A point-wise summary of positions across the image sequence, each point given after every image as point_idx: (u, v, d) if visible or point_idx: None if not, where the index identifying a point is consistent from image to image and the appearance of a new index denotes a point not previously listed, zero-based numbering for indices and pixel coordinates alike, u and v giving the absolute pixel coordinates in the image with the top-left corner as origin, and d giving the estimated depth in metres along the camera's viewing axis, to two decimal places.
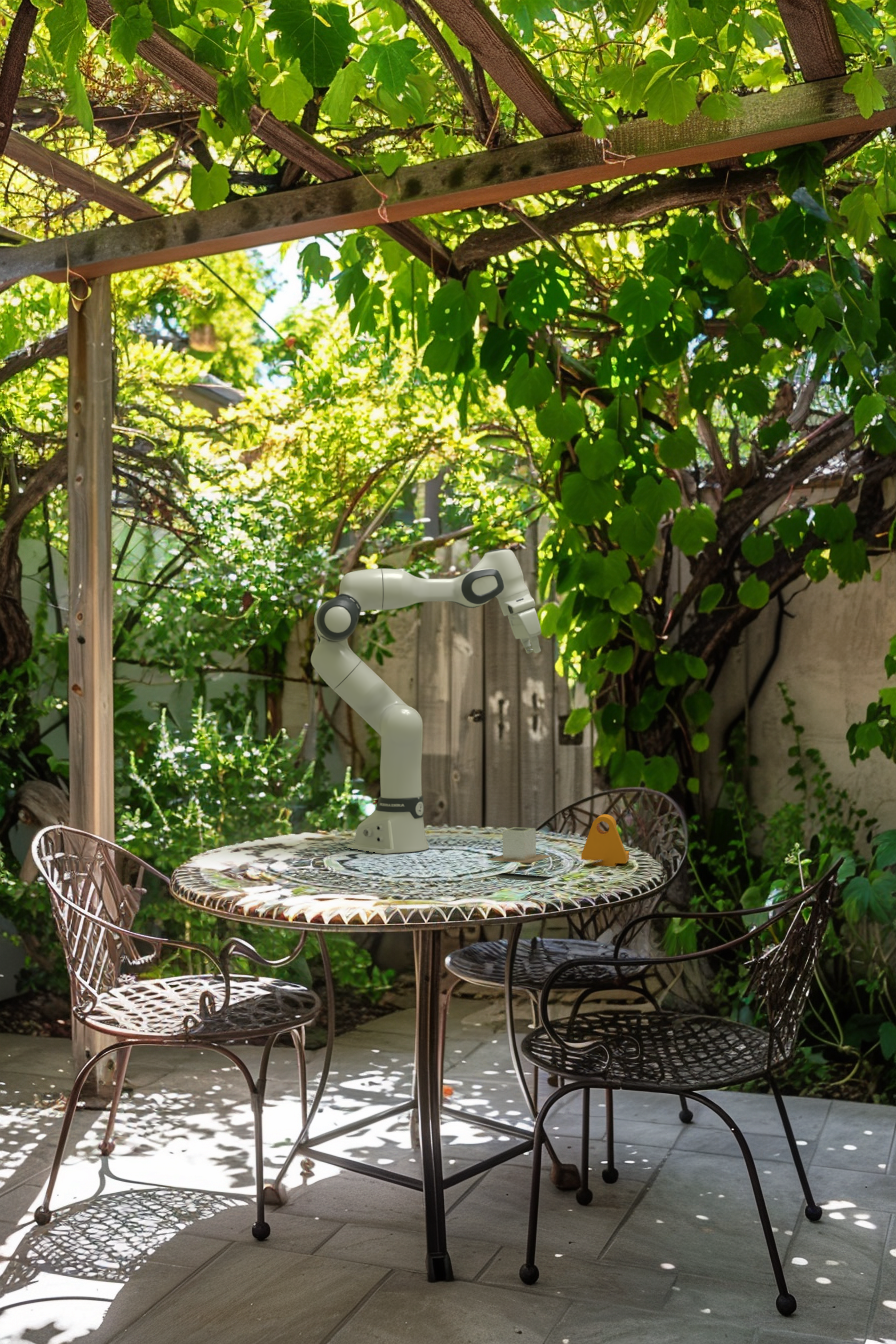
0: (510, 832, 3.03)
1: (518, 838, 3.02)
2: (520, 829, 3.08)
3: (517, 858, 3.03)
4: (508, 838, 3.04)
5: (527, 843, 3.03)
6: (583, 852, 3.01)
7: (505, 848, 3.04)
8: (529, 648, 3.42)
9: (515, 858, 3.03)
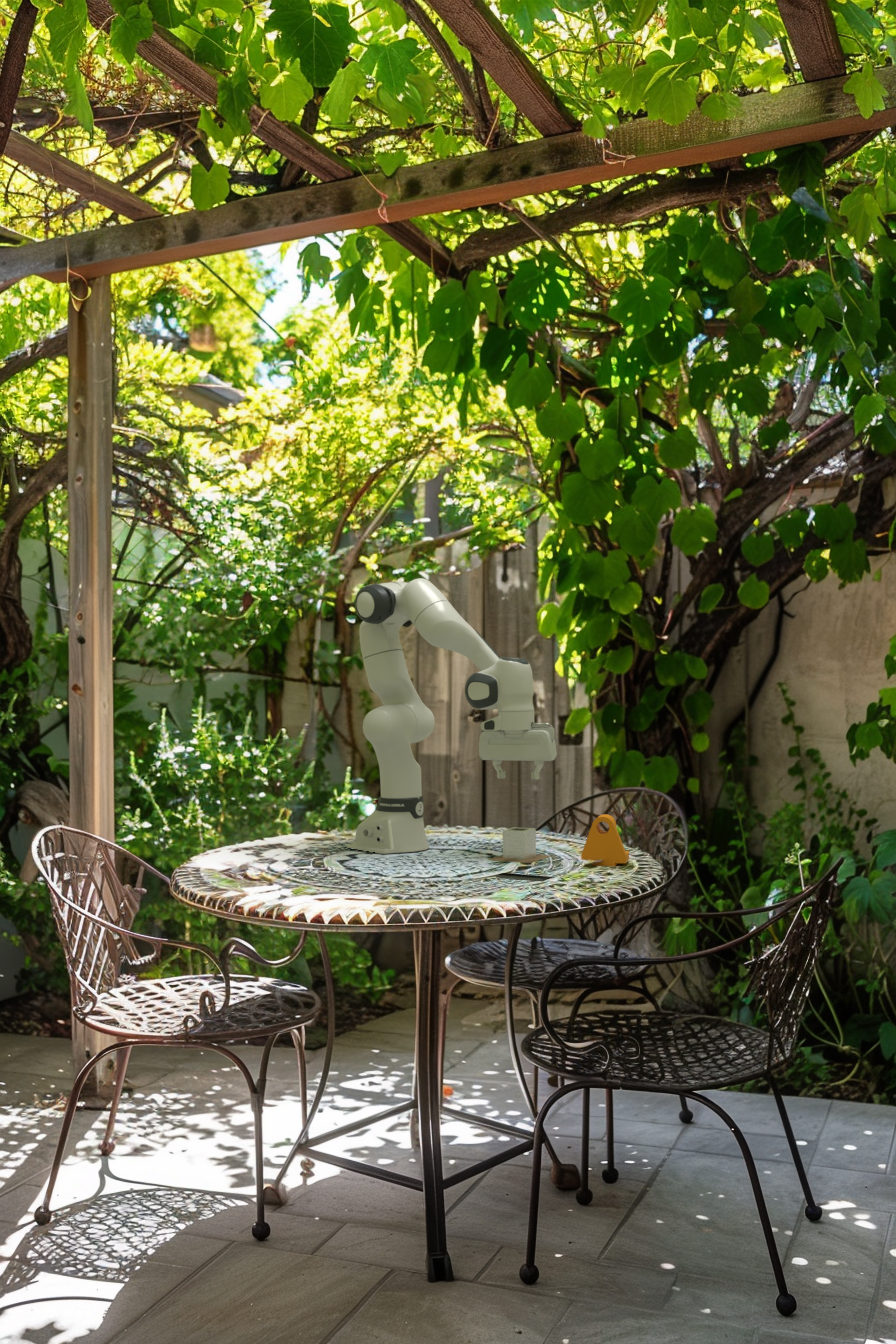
0: (510, 832, 3.03)
1: (518, 838, 3.02)
2: (520, 829, 3.08)
3: (517, 858, 3.03)
4: (508, 838, 3.04)
5: (527, 843, 3.03)
6: (583, 852, 3.01)
7: (505, 848, 3.04)
8: None
9: (515, 858, 3.03)
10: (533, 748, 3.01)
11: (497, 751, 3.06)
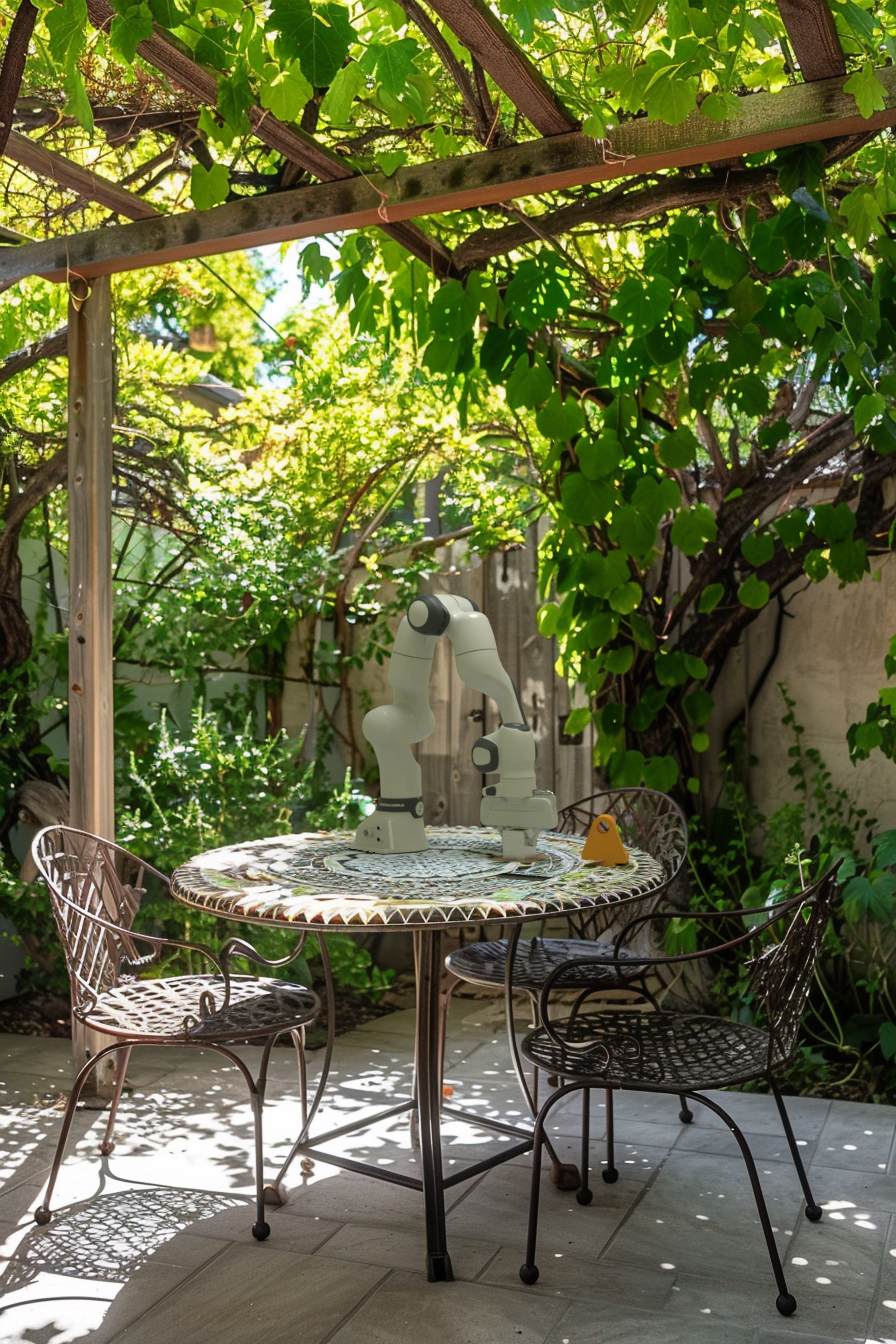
0: (510, 832, 3.03)
1: (518, 838, 3.02)
2: (520, 829, 3.08)
3: (517, 858, 3.03)
4: (508, 838, 3.04)
5: (527, 843, 3.03)
6: (583, 852, 3.01)
7: (505, 848, 3.04)
8: None
9: (515, 858, 3.03)
10: (534, 815, 3.01)
11: (498, 817, 3.06)
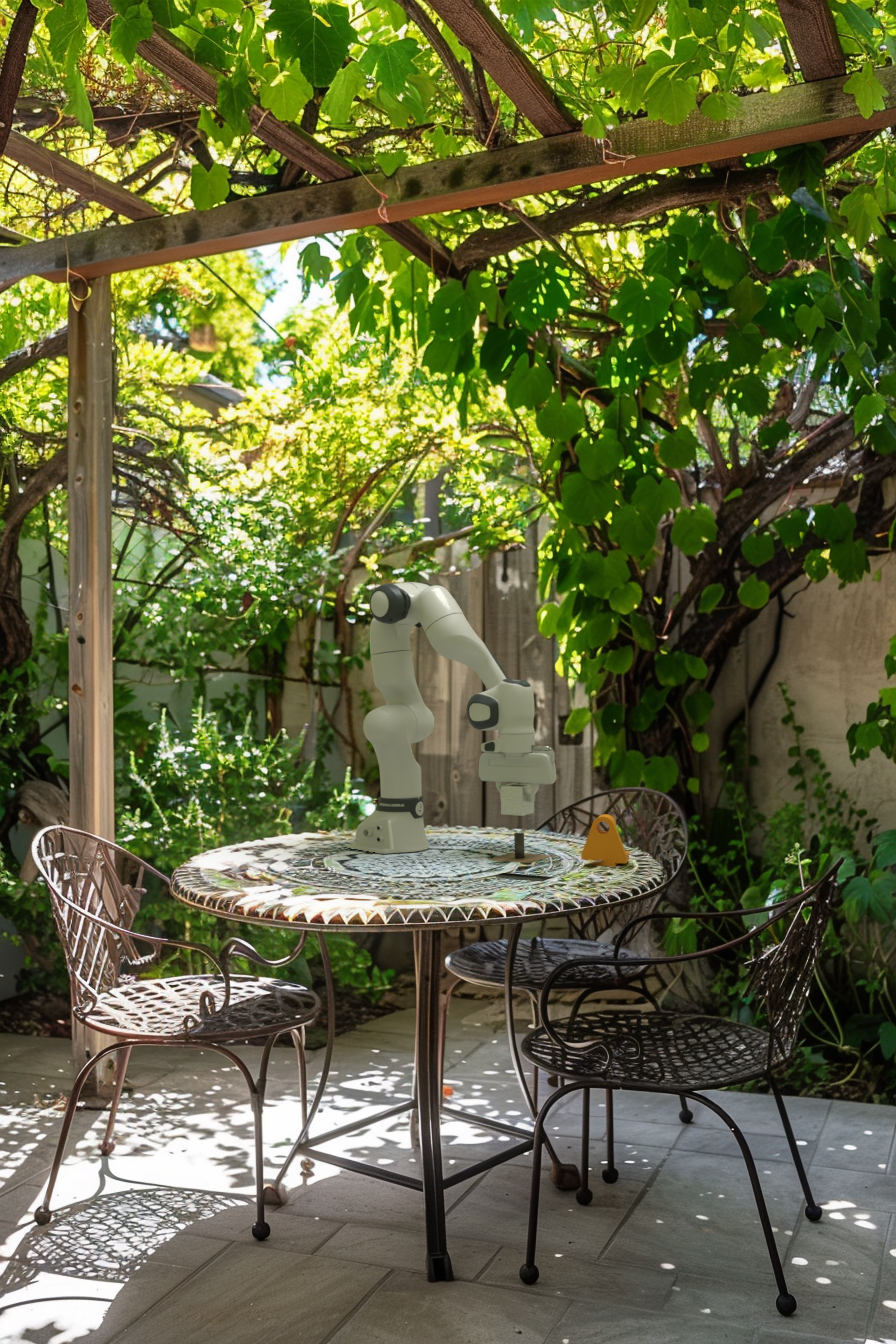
0: (508, 788, 3.03)
1: (517, 794, 3.02)
2: (518, 785, 3.08)
3: (515, 813, 3.03)
4: (506, 794, 3.04)
5: (525, 798, 3.03)
6: (583, 852, 3.01)
7: (503, 804, 3.04)
8: None
9: (513, 813, 3.03)
10: (533, 771, 3.01)
11: (497, 773, 3.06)
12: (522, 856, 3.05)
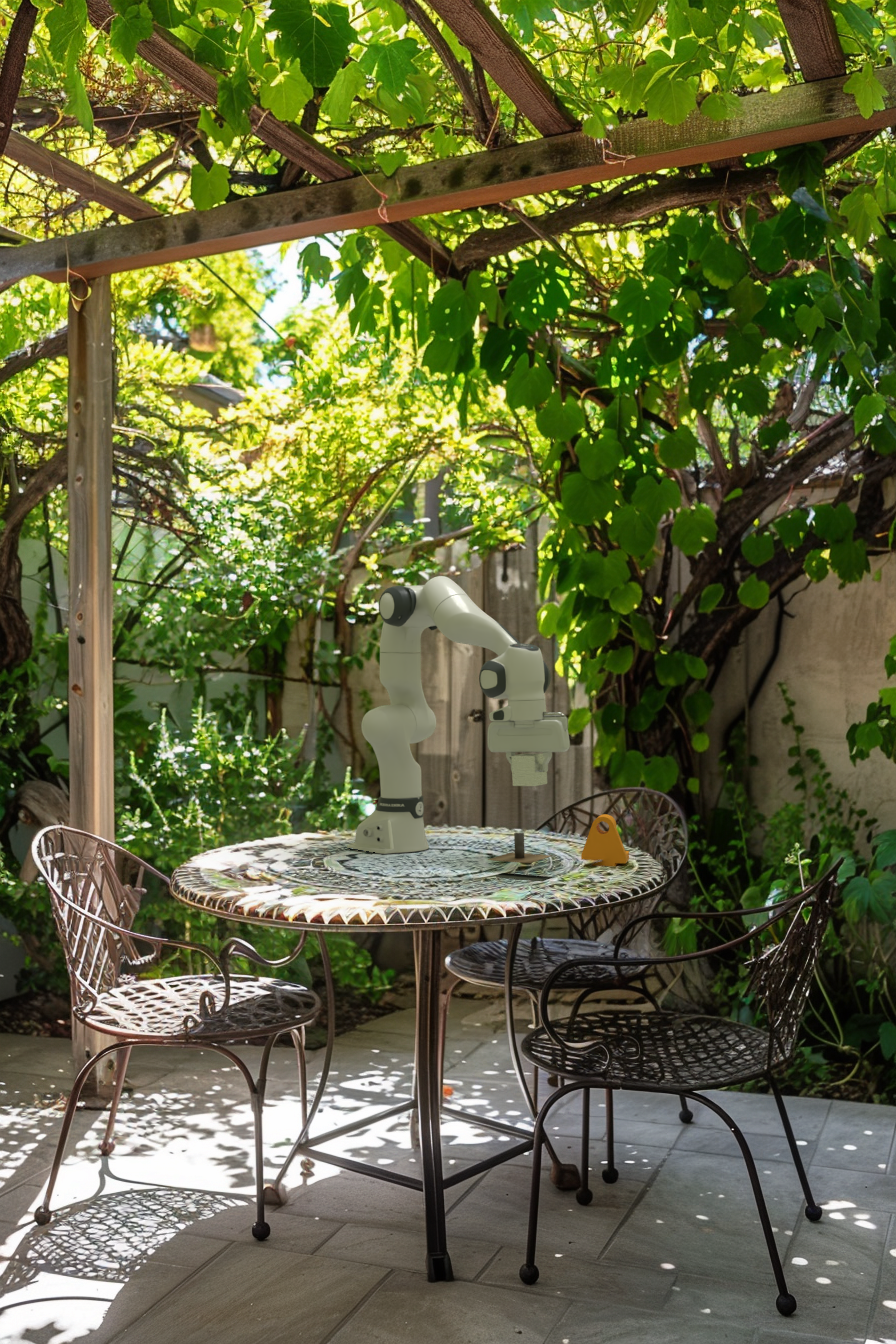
0: (520, 757, 2.88)
1: (529, 763, 2.87)
2: (530, 755, 2.93)
3: (527, 784, 2.87)
4: (517, 764, 2.89)
5: (537, 768, 2.88)
6: (583, 852, 3.01)
7: (515, 774, 2.89)
8: None
9: (525, 784, 2.88)
10: (545, 739, 2.86)
11: (507, 743, 2.91)
12: (522, 856, 3.05)
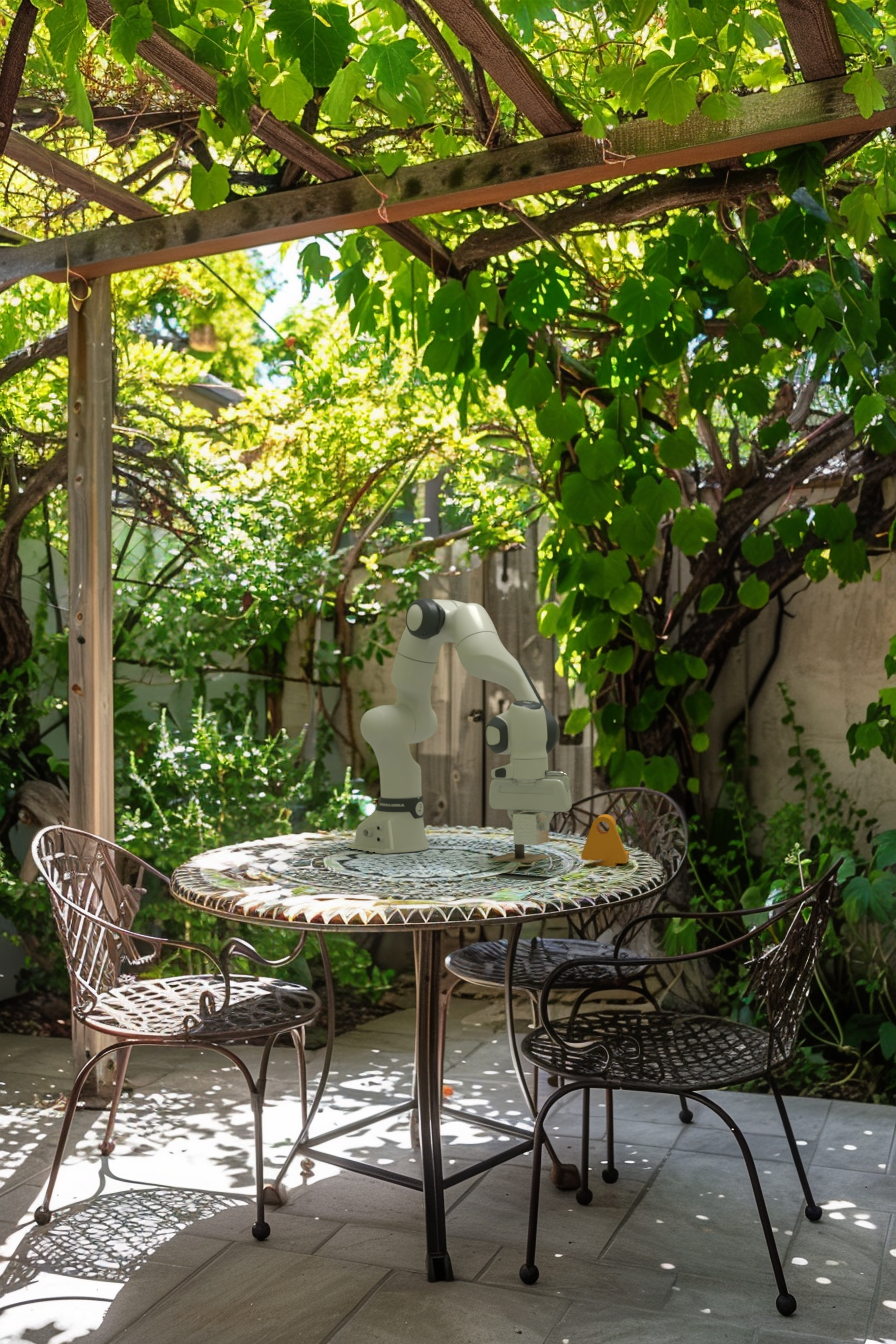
0: (521, 816, 2.87)
1: (530, 822, 2.86)
2: (531, 813, 2.91)
3: (529, 843, 2.86)
4: (519, 822, 2.87)
5: (539, 827, 2.86)
6: (583, 852, 3.01)
7: (516, 833, 2.88)
8: None
9: (527, 843, 2.86)
10: (547, 798, 2.85)
11: (508, 800, 2.90)
12: (522, 856, 3.05)
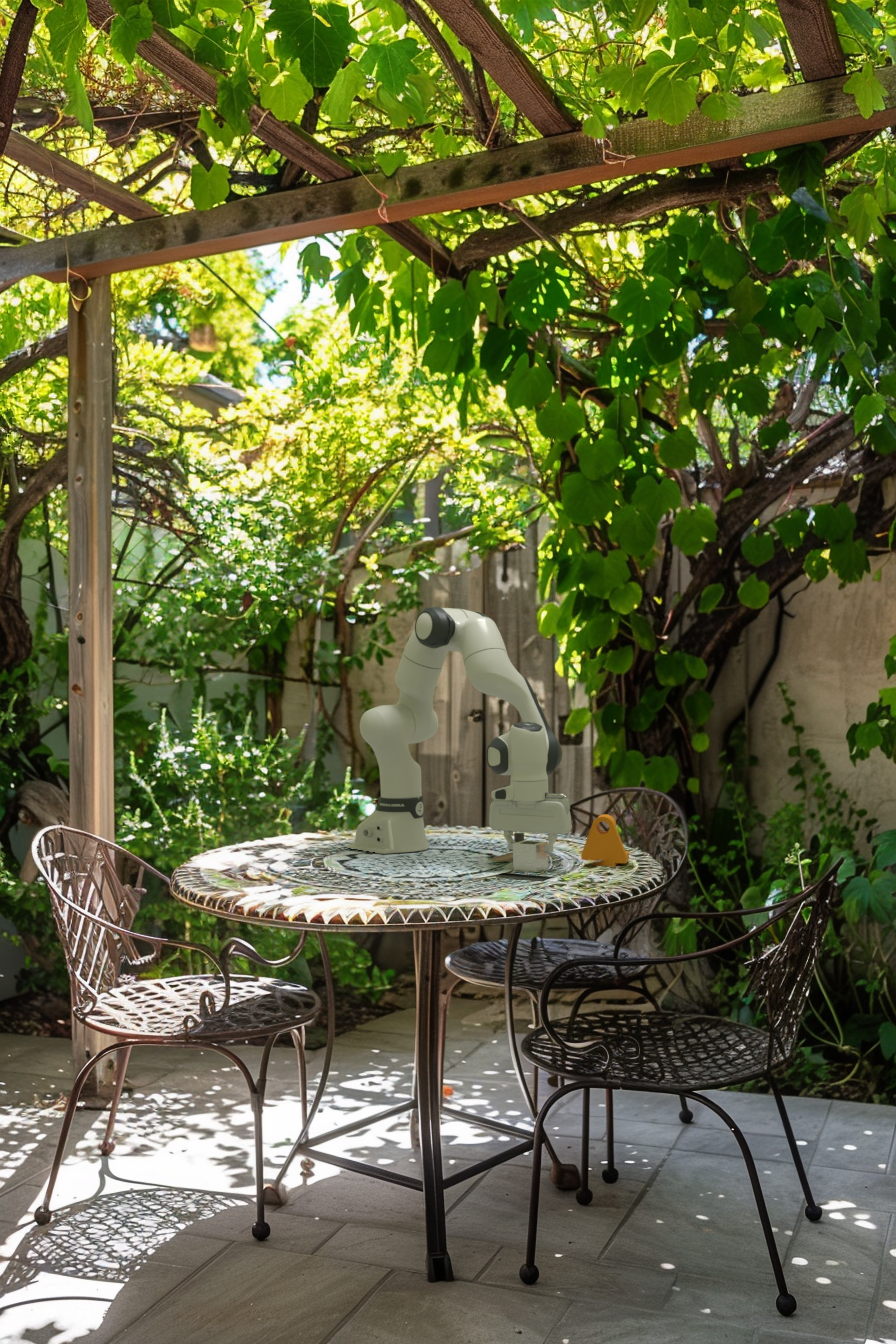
0: (521, 846, 2.87)
1: (530, 853, 2.86)
2: (531, 842, 2.91)
3: None
4: (518, 852, 2.88)
5: (538, 857, 2.87)
6: (583, 852, 3.01)
7: (516, 862, 2.88)
8: None
9: None
10: (546, 820, 2.85)
11: (508, 822, 2.90)
12: None
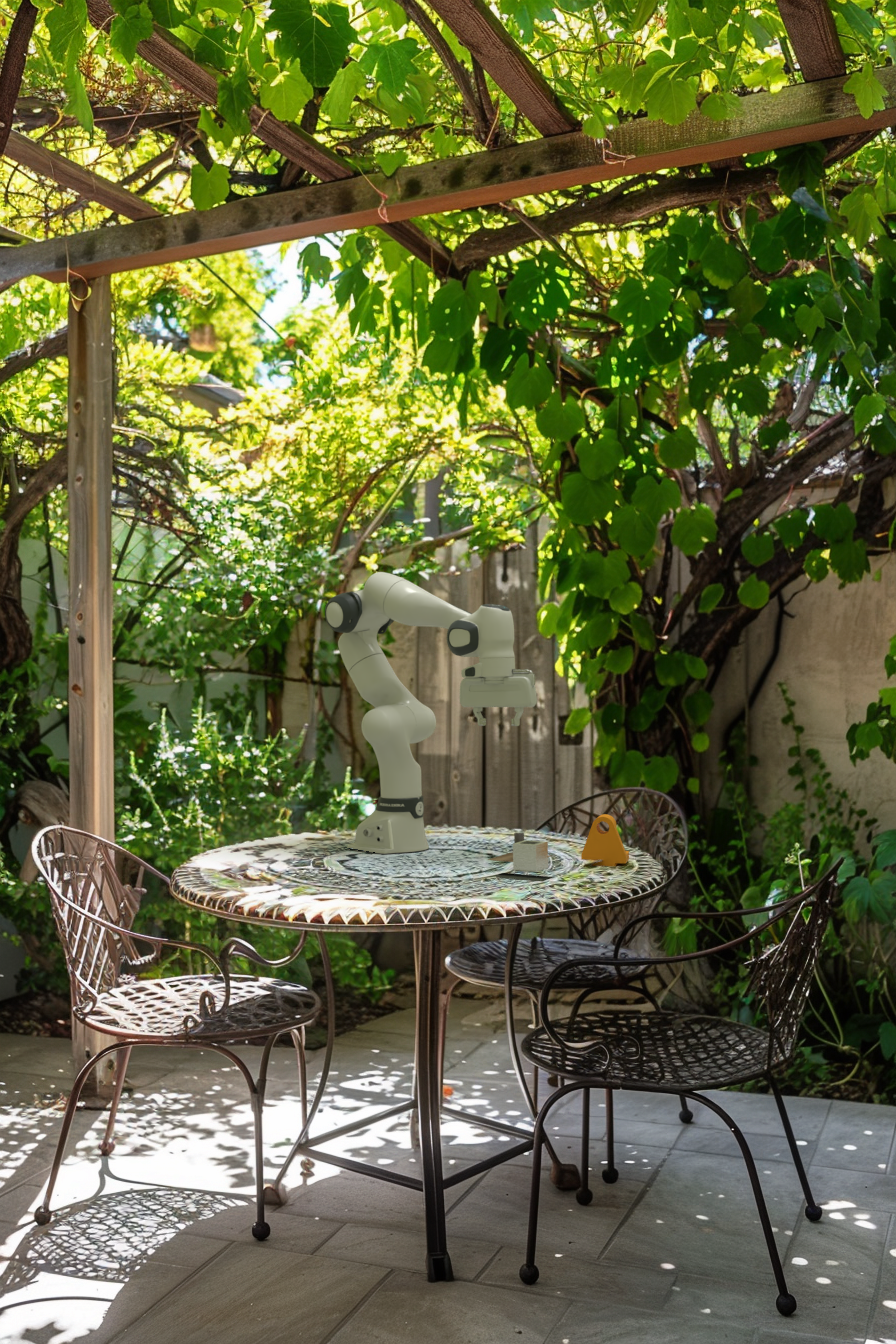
0: (521, 846, 2.87)
1: (530, 853, 2.86)
2: (531, 842, 2.91)
3: None
4: (518, 852, 2.88)
5: (538, 857, 2.87)
6: (583, 852, 3.01)
7: (516, 862, 2.88)
8: None
9: None
10: (513, 694, 3.01)
11: (477, 698, 3.06)
12: None
